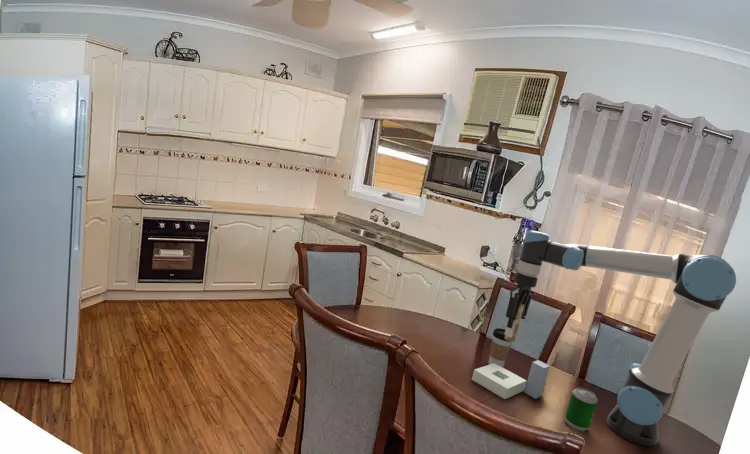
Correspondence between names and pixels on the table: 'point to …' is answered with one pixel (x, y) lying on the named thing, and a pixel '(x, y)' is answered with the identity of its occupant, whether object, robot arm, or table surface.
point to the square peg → (536, 379)
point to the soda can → (581, 409)
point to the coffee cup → (499, 347)
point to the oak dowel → (518, 318)
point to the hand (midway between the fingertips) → (511, 335)
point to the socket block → (499, 380)
